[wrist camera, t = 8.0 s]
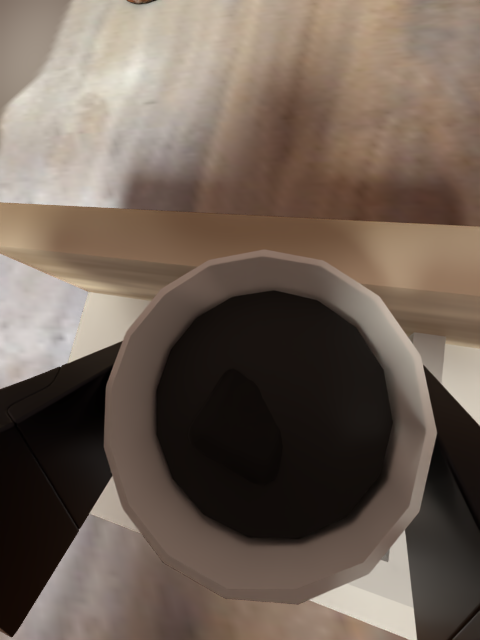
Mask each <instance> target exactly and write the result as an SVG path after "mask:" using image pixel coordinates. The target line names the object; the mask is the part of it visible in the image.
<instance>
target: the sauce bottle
mask: <svg viewBox="0 0 480 640" xmlns="http://www.w3.org/2000/svg"><path fill="white" fill-rule="evenodd" d="M127 1H129V2H132V3H137V4H139V3H146V2H150V1H153V0H127Z"/></svg>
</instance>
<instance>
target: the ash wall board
mask: <svg viewBox="0 0 480 640" xmlns="http://www.w3.org/2000/svg"><path fill="white" fill-rule="evenodd" d="M264 249H265V250H270V251H276V252H281V253H286V254H292V255H297V256H302V257H307V258H313V259H318V260H323V261H325V262H327V263H328V264H330V265H331V266H333V267H335V268H336V269H338V270H339V271H341V272H342V273H344V274H345V275H347V276H349V277H350V278H352V279H353V280H355V281H356V282H358V283H360V284H361V285H363V286H364V287H366V288H367V289H369V290H370V291H372V292H374V293H375V294H377V295H378V296H380V298H381V299H382V301H383V302H384V304H385V305H386V306H387V308H388V309H389V311H390V312H391V314H392V315H393V316H394V318H395V319H396V321H397V322H398V324H399V325H400V327H401V328H402V329H403V331H404V332H405V334H406V335H407V337H409V336H410V335H411V334H413V333H414V332H416V333H424V334H431V335H438V336H445V337H446V342H445V344H450V345H457V346H464V347H471V348H478V349H480V227H475V226H455V225H435V224H415V223H396V222H376V221H356V220H336V219H316V218H296V217H277V216H257V215H237V214H217V213H197V212H177V211H158V210H138V209H118V208H98V207H78V206H59V205H39V204H19V203H0V254H3V255H5V256H7V257H9V258H12V259H14V260H16V261H19V262H21V263H23V264H26V265H28V266H30V267H32V268H35V269H37V270H39V271H42V272H44V273H46V274H49V275H51V276H53V277H56V278H58V279H60V280H62V281H65V282H67V283H69V284H72V285H74V286H76V287H79V288H81V289H83V290H86V291H88V292H93V293H100V294H107V295H114V296H121V297H127V298H134V299H141V300H148V301H152V300H153V298H154V297H155V296H156V295H157V293H158V292H159V291H160V290H161V289H162V288H163V287H165V286H167V285H168V284H170V283H172V282H173V281H175V280H177V279H178V278H180V277H181V276H183V275H185V274H186V273H188V272H190V271H191V270H193V269H195V268H196V267H198V266H200V265H201V264H203V263H205V262H206V261H208V260H211V259H216V258H222V257H227V256H232V255H238V254H243V253H248V252H253V251H259V250H264Z"/></svg>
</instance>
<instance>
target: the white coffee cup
mask: <svg viewBox="0 0 480 640" xmlns="http://www.w3.org/2000/svg"><path fill="white" fill-rule="evenodd" d="M436 435H437V430H436V425H435V421H434V416H433V411H432V406H431V402H430V397H429V392H428V387H427V382H426V378H425V373H424V368H423V363H422V359H421V355H420V354H419V352H418V351H417V349H416V348H415V347H414V345H413V344H412V342H411V341H410V339H409V338H408V337H407V335H406V334H405V332H404V331H403V329H402V328H401V327H400V325H399V324H398V322H397V321H396V319H395V318H394V316H393V315H392V314H391V312H390V311H389V309H388V308H387V306H386V305H385V304H384V302H383V301H382V299H381V298H380V296H378V295H377V294H375V293H374V292H372V291H370V290H369V289H367V288H366V287H364V286H363V285H361V284H360V283H358V282H356V281H355V280H353V279H352V278H350V277H349V276H347V275H345V274H344V273H342V272H341V271H339V270H338V269H336V268H335V267H333V266H331V265H330V264H328V263H327V262H325V261H323V260H318V259H313V258H307V257H302V256H297V255H292V254H286V253H281V252H276V251H270V250H265V249H264V250H259V251H253V252H248V253H243V254H238V255H232V256H227V257H222V258H216V259H211V260H208V261H206V262H205V263H203V264H201V265H200V266H198V267H196V268H195V269H193V270H191V271H190V272H188V273H186V274H185V275H183V276H181V277H180V278H178V279H177V280H175V281H173V282H172V283H170V284H168V285H167V286H165V287H163V288H162V289H161V290H160V291H159V292H158V293H157V295H156V296H155V297H154V298H153V300H152V301H151V302H150V303H149V304H148V306H147V307H146V308H145V309H144V311H143V312H142V313H141V314H140V316H139V317H138V318H137V319H136V320H135V322H134V323H133V324H132V325H131V327H130V328H129V329H128V330H127V331H126V334H125V336H124V339H123V342H122V344H121V347H120V350H119V352H118V355H117V358H116V360H115V363H114V366H113V368H112V371H111V374H110V376H109V379H108V382H107V384H106V396H105V424H104V450H105V453H106V456H107V460H108V463H109V466H110V469H111V473H112V476H113V479H114V483H115V486H116V489H117V493H118V496H119V499H120V502H121V506H122V509H123V510H124V511H125V513H126V514H127V515H128V517H129V518H130V519H131V521H132V522H133V523H134V525H135V526H136V527H137V529H138V530H139V531H140V533H141V534H142V535H143V536H144V538H145V539H146V540H147V542H148V543H149V544H150V546H151V547H152V548H153V550H154V551H155V552H156V554H157V555H158V556H159V558H160V559H161V560H162V562H163V563H165V564H166V565H168V566H170V567H172V568H173V569H175V570H177V571H178V572H180V573H182V574H184V575H185V576H187V577H189V578H190V579H192V580H194V581H196V582H197V583H199V584H201V585H202V586H204V587H206V588H208V589H209V590H211V591H213V592H214V593H216V594H218V595H220V596H221V597H223V598H226V599H238V600H250V601H262V602H275V603H287V604H300V603H303V602H305V601H307V600H310V599H312V598H314V597H317V596H319V595H321V594H324V593H326V592H328V591H331V590H333V589H335V588H338V587H340V586H342V585H345V584H347V583H349V582H352V581H354V580H356V579H359V578H361V577H364V576H366V575H368V574H370V572H371V571H372V570H373V569H374V567H375V566H376V565H377V564H378V562H379V561H380V560H381V559H382V557H383V556H384V555H385V554H386V552H387V551H388V550H389V549H390V548H391V546H392V545H393V544H394V543H395V541H396V540H397V539H398V538H399V536H400V535H401V534H402V533H403V531H404V530H405V529H406V528H407V526H408V525H409V524H410V523H411V521H412V520H413V519H414V518H415V517H416V515H417V514H418V513H419V511H420V507H421V502H422V498H423V493H424V489H425V484H426V480H427V475H428V471H429V466H430V462H431V457H432V453H433V448H434V444H435V440H436Z"/></svg>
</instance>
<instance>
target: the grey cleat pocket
mask: <svg viewBox="0 0 480 640" xmlns="http://www.w3.org/2000/svg"><path fill="white" fill-rule="evenodd" d="M150 302H151V301H148V300H141V299H134V298H127V297H121V296H114V295H107V294H100V293H93V292H88V296H87V299H86V303H85V306H84V309H83V313H82V316H81V320H80V323H79V326H78V330H77V333H76V337H75V340H74V343H73V347H72V350H71V354H70V357H69V361H68V363H70V362H72V361H74V360H77V359H79V358H82V357H84V356H87V355H89V354H92V353H94V352H96V351H99V350H101V349H104V348H106V347H109V346H111V345H114V344H116V343H118V342H121V341H123V339H124V336H125V334H126V331H127V330H128V329H129V328H130V327H131V325H132V324H133V323H134V322H135V320H136V319H137V318H138V317H139V316H140V314H141V313H142V312H143V311H144V309H145V308H146V307H147V306H148V304H149V303H150ZM408 338H409V339H410V341H411V342H412V344H413V345H414V347H415V348H416V349H417V351H418V352H419V354H420V355H421V359H422V363H423V365H424V366H425V367H426V368H427V369H428V370H429V371H430V372H431V373H432V374H433V375H434V376H435V377H436V379H437V380H438V381H439V382H440V383H441V384H442V385H443V386H444V387H445V388H446V389H447V390H448V392H449V393H450V394H451V395H452V396H453V397H454V398H455V399H456V400H457V401H458V402H459V404H460V405H461V406H462V407H463V408H464V409H465V410H466V411H467V412H468V413H469V414H470V416H471V417H472V418H473V419H474V420H475V421H476V422H477V423H478V424H479V425H480V349H478V348H471V347H464V346H457V345H450V344H445V342H446V337H445V336H438V335H431V334H424V333H416V332H414V333H413V334H411V335H410V336H409V337H408ZM89 514H92V515H94V516H97V517H99V518H102V519H104V520H107V521H110V522H112V523H115V524H117V525H120V526H122V527H125V528H127V529H130V530H132V531H135V532H137V533H140V531H139V530H138V529H137V527H136V526H135V525H134V523H133V522H132V521H131V519H130V518H129V517H128V515H127V514H126V513H125V511H124V510H123V509H122V506H121V502H120V499H119V496H118V493H117V489H116V486H115V483H114V479H113V476H112V478H111V479H110V481H109V482H108V484H107V486H106V487H105V489H104V491H103V492H102V494H101V495H100V497H99V499H98V500H97V502H96V504H95V505H94V507H93V508H92V510H91V512H90V513H89ZM140 534H141V533H140ZM310 601H313V602H315V603H318V604H320V605H323V606H325V607H328V608H331V609H333V610H336V611H338V612H341V613H343V614H346V615H348V616H351V617H353V618H356V619H358V620H361V621H364V622H366V623H369V624H371V625H374V626H376V627H379V628H381V629H384V630H386V631H389V632H391V633H394V634H397V635H399V636H402V637H404V638H407V639H409V640H417V635H416V626H415V617H414V608H413V599H412V590H411V580H410V571H409V562H408V553H407V544H406V535H405V530H404V531H403V533H402V534H401V535H400V536H399V538H398V539H397V540H396V541H395V543H394V544H393V545H392V546H391V548H390V549H389V550H388V551H387V552H386V554H385V555H384V556H383V557H382V559H381V560H380V561H379V562H378V564H377V565H376V566H375V567H374V569H373V570H372V571H371V572H370V574H368V575H366V576H364V577H361V578H359V579H356V580H354V581H352V582H349V583H347V584H345V585H342V586H340V587H338V588H335V589H333V590H331V591H328V592H326V593H324V594H321V595H319V596H317V597H314V598H312V599H310Z"/></svg>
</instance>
